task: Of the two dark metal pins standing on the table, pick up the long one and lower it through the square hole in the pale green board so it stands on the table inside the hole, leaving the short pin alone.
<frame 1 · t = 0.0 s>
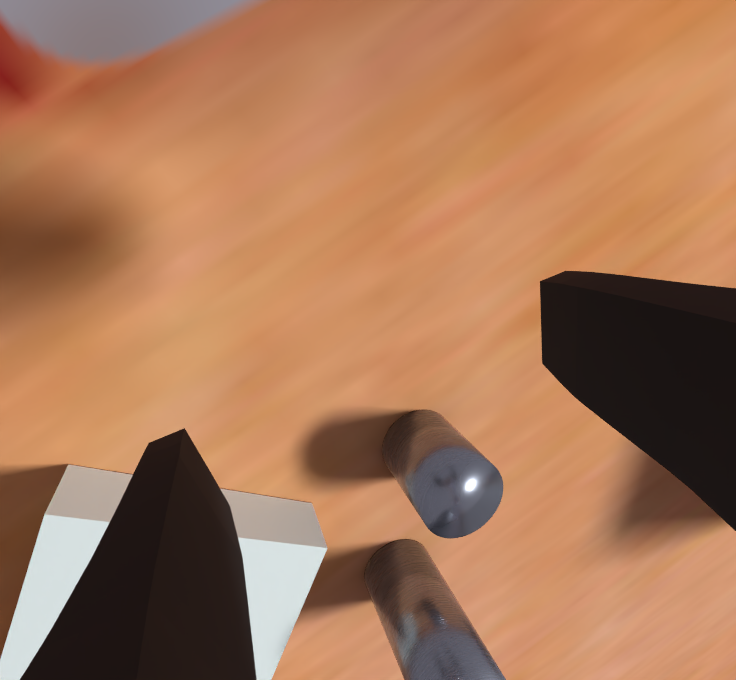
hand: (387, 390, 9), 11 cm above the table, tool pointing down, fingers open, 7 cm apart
board: (159, 602, 21), on the table
pin long: (396, 568, 25), on the table
pin short: (417, 443, 23), on the table
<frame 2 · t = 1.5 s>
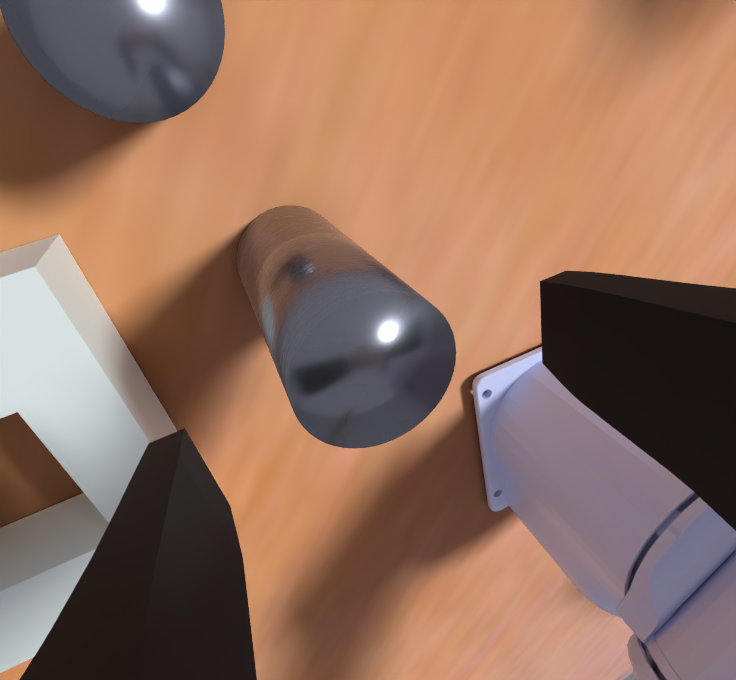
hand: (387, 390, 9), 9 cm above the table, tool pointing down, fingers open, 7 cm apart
board: (4, 454, 16), on the table
pin long: (290, 259, 16), on the table
pin short: (133, 36, 12), on the table
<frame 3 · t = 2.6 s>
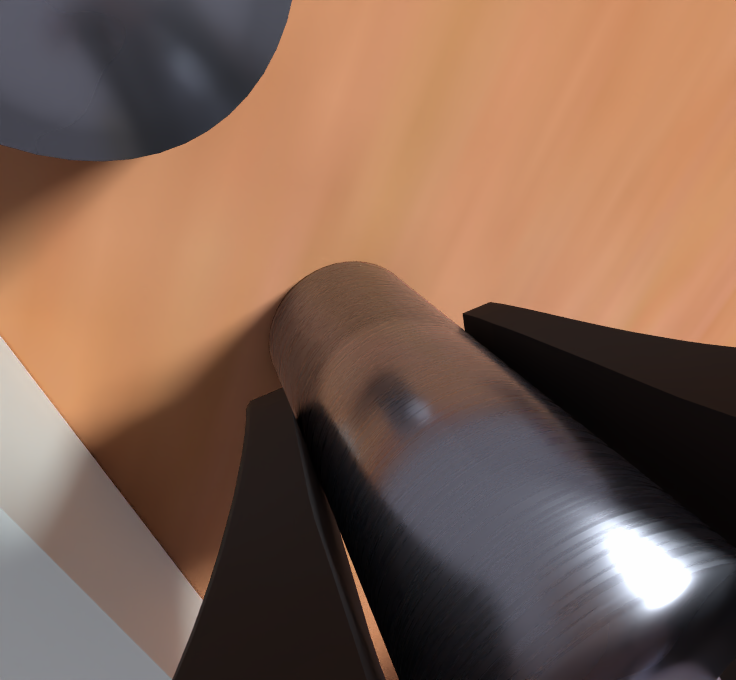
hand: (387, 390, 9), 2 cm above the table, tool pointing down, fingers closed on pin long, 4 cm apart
pin long: (346, 336, 11), on the table, touching gripper
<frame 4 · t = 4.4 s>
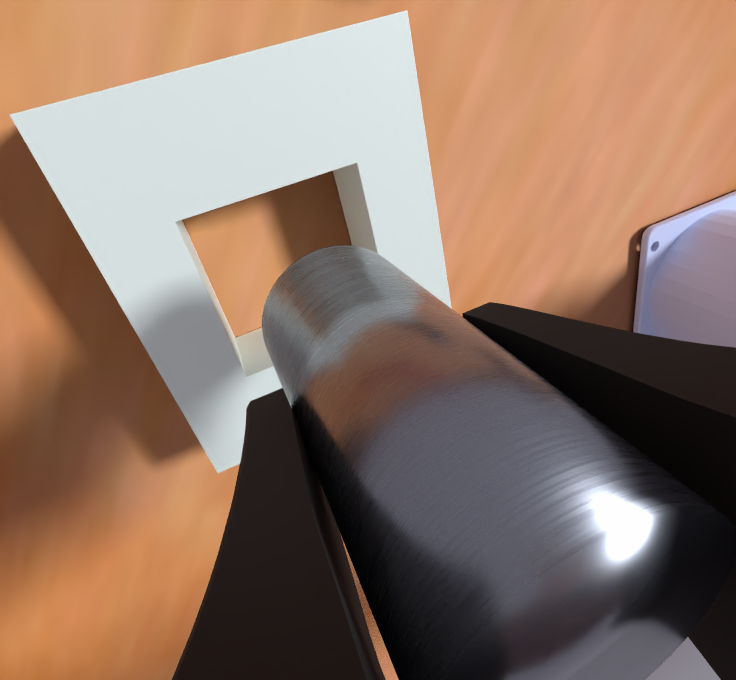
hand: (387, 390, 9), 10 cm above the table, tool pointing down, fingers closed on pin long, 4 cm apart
board: (279, 249, 17), on the table
pin long: (338, 319, 11), point 7 cm above the table, touching gripper
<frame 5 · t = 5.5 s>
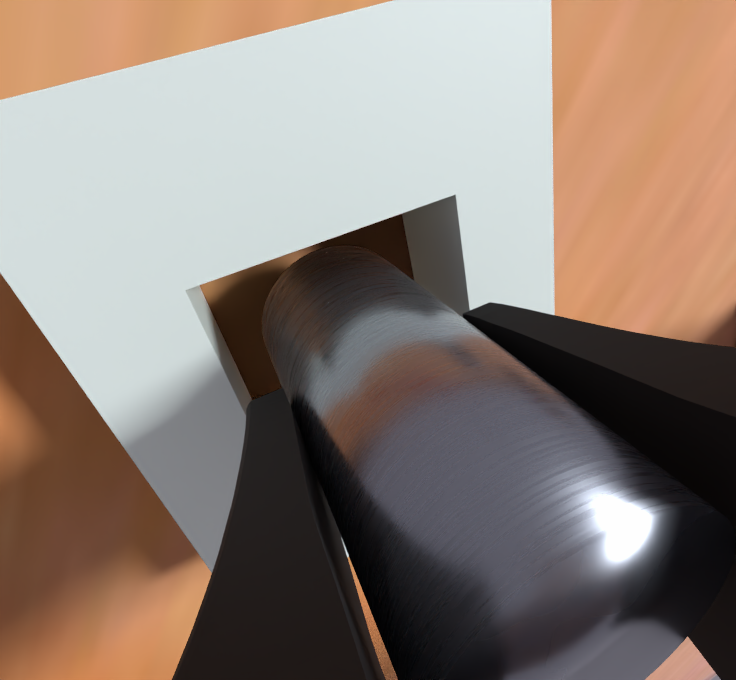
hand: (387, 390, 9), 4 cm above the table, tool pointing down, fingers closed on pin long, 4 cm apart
board: (322, 304, 13), on the table
pin long: (338, 319, 11), point 2 cm above the table, touching gripper
when the fingers open (4 cm above the table, at t = 6.2 s): pin long drops 2 cm, resting in board.
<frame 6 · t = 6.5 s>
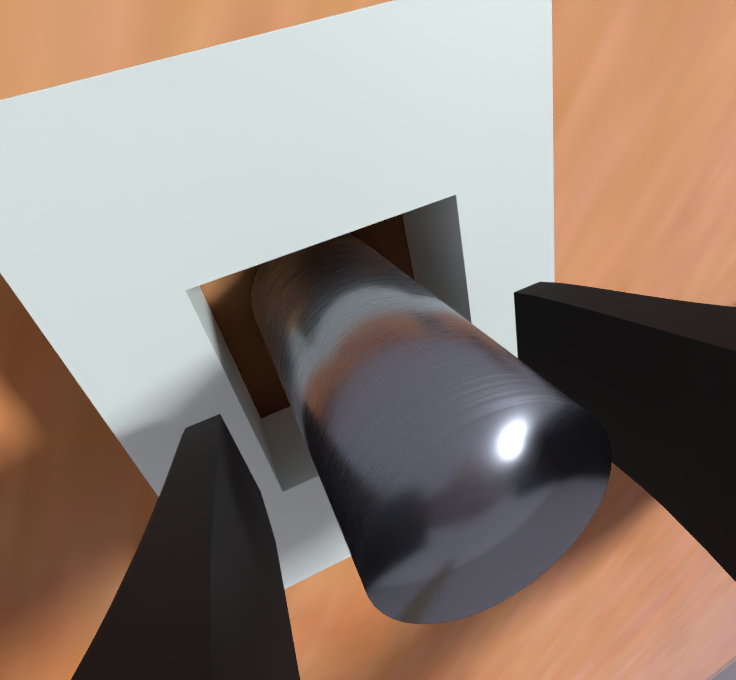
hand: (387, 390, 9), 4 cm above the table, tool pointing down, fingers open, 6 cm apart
board: (322, 304, 13), on the table
pin long: (320, 295, 13), resting in board
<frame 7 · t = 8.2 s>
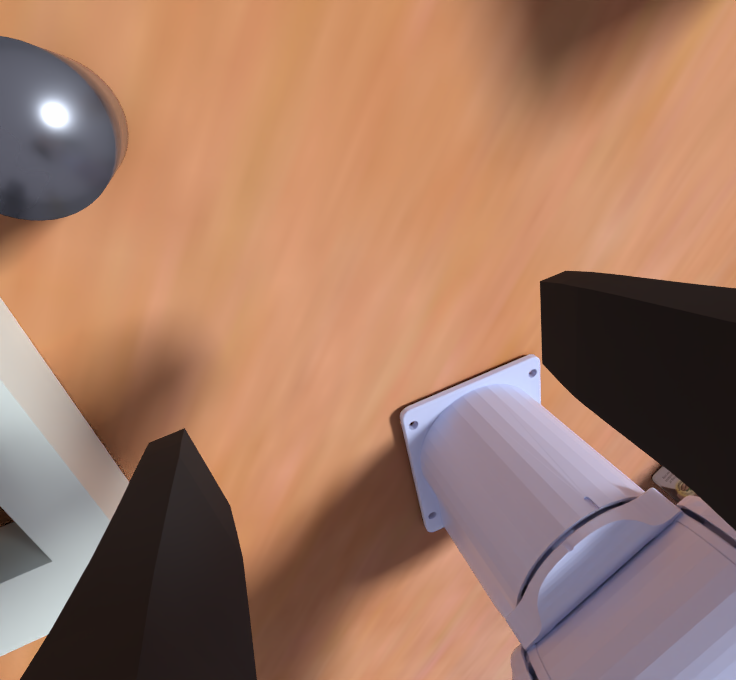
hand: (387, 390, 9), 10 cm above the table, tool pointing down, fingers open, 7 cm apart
coffee box: (694, 465, 37), on the table
pin short: (59, 123, 14), on the table
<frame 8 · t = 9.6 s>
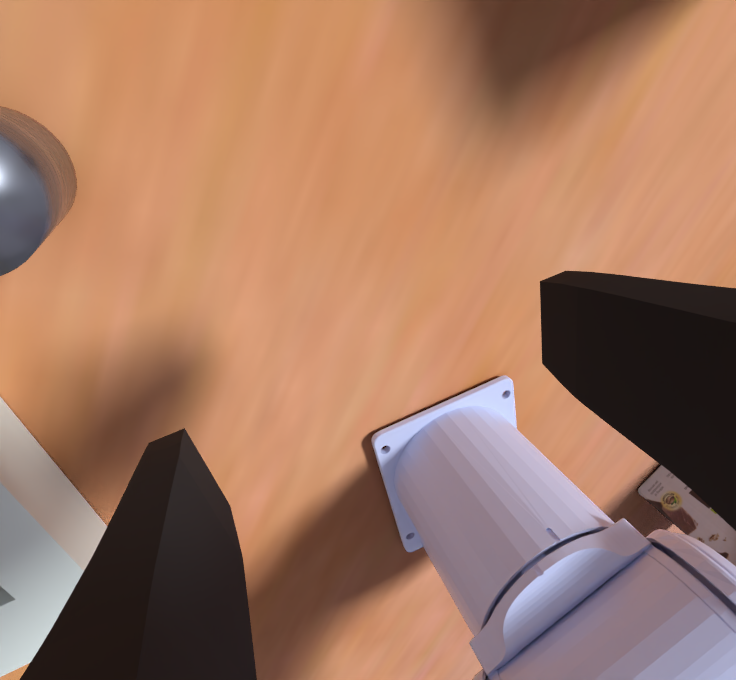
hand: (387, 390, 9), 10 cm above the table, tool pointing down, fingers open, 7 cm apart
coffee box: (682, 476, 37), on the table
pin short: (5, 173, 14), on the table
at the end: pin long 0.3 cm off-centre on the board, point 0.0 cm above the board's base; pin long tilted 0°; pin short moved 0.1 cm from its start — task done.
